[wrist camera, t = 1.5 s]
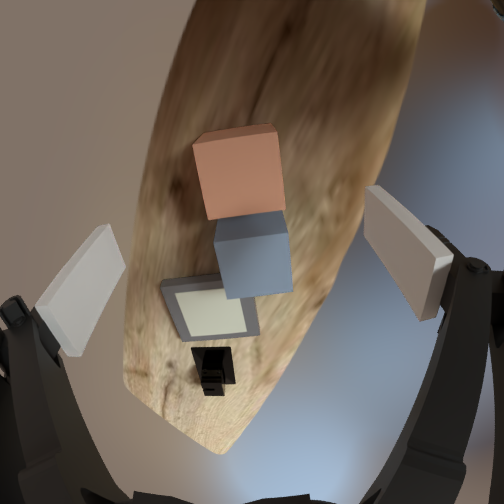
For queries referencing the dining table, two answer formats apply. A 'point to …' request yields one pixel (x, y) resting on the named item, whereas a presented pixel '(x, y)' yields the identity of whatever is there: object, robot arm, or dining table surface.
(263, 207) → the terracotta block
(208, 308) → the blueprint board
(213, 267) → the dining table surface
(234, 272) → the blue block
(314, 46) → the dining table surface
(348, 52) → the dining table surface
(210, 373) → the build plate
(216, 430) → the dining table surface
